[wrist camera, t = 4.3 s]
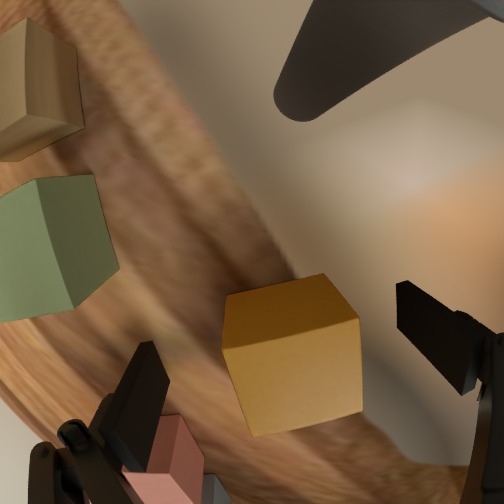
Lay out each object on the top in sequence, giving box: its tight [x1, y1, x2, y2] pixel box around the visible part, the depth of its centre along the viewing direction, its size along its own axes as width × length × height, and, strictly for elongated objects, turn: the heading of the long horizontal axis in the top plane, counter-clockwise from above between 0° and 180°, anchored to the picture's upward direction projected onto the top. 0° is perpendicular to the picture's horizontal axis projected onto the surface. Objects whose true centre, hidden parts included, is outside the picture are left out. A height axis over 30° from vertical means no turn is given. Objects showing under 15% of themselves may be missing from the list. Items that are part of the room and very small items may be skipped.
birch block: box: [0, 17, 85, 162], centre depth 10 cm, size 5×5×5 cm
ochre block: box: [221, 273, 363, 437], centre depth 13 cm, size 5×5×5 cm
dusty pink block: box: [121, 414, 205, 504], centre depth 15 cm, size 5×5×5 cm
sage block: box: [0, 175, 119, 323], centre depth 11 cm, size 5×5×5 cm
